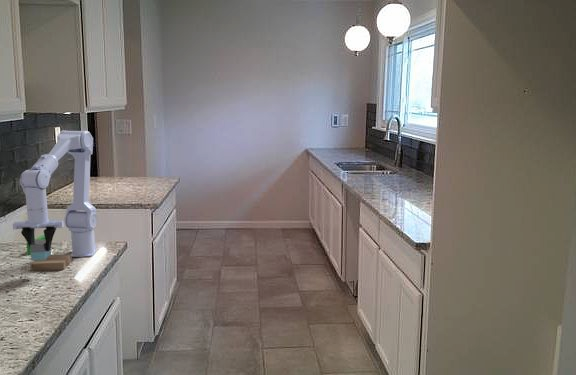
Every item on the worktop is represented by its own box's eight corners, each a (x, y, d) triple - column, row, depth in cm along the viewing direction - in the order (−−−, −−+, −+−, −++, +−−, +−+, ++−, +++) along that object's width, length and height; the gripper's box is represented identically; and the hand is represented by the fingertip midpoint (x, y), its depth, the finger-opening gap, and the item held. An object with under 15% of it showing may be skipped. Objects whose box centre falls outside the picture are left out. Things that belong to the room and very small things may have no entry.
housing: (37, 254, 168) (36, 239, 168) (50, 253, 169) (49, 238, 168) (31, 260, 163) (29, 244, 162) (44, 259, 163) (43, 244, 162)
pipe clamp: (37, 255, 188) (36, 243, 187) (27, 255, 188) (26, 243, 188) (54, 246, 199) (53, 234, 198) (45, 246, 199) (44, 234, 198)
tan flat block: (41, 262, 180) (40, 255, 180) (71, 261, 181) (71, 254, 181) (31, 271, 171) (31, 263, 171) (64, 269, 173) (63, 262, 172)
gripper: (7, 211, 158) (11, 255, 161) (57, 210, 160) (61, 253, 163) (16, 206, 165) (20, 248, 168) (64, 205, 167) (67, 246, 169)
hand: (40, 250), depth 166 cm, fingers closed on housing, 4 cm apart
